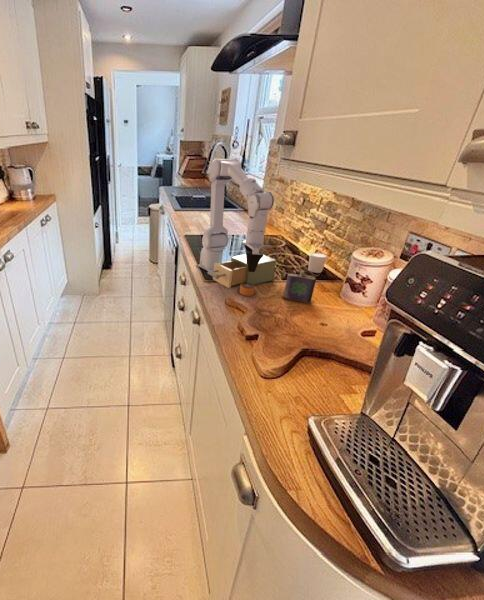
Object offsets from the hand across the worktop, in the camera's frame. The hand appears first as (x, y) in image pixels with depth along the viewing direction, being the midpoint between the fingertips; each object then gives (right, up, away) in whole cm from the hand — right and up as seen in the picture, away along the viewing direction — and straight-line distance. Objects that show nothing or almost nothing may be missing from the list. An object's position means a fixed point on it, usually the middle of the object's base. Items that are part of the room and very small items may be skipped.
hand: (250, 267), depth 115 cm
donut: (0, -9, +4) cm, 10 cm away
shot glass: (+35, +1, +26) cm, 44 cm away
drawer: (-6, -4, +11) cm, 13 cm away
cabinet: (+5, -3, +17) cm, 18 cm away
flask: (+16, -11, 0) cm, 20 cm away
